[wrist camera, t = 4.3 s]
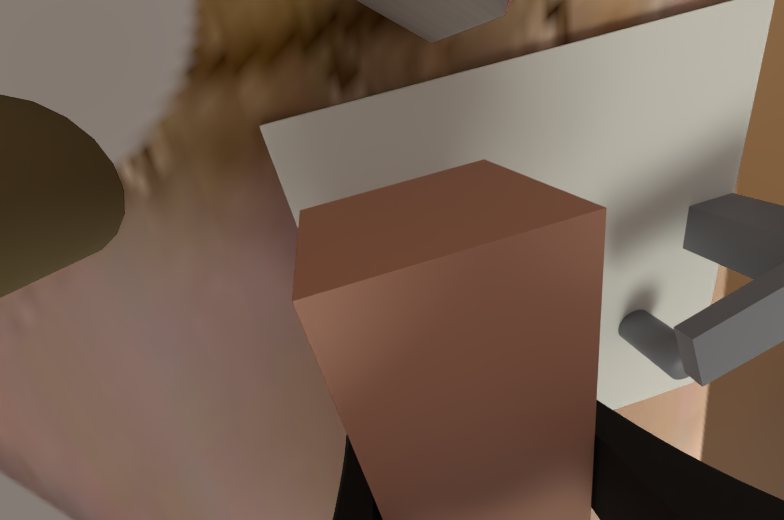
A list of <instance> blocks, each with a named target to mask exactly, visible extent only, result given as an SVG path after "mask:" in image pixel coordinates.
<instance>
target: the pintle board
mask: <svg viewBox="0 0 784 520" xmlns="http://www.w3.org/2000/svg"><path fill="white" fill-rule="evenodd" d="M774 1H775V0H730V1H726V2H722V3H719V4H715V5H711V6H707V7H704V8H700V9H696V10H692V11H689V12H685V13H681V14H677V15H673V16H670V17H666V18H662V19H658V20H655V21H651V22H647V23H643V24H640V25H636V26H632V27H628V28H624V29H621V30H617V31H613V32H609V33H606V34H602V35H598V36H594V37H591V38H587V39H583V40H579V41H575V42H572V43H568V44H564V45H560V46H557V47H553V48H549V49H545V50H542V51H538V52H534V53H530V54H526V55H523V56H519V57H515V58H511V59H508V60H504V61H500V62H496V63H493V64H489V65H485V66H481V67H477V68H474V69H470V70H466V71H462V72H459V73H455V74H451V75H447V76H444V77H440V78H436V79H432V80H428V81H425V82H421V83H417V84H413V85H410V86H406V87H402V88H398V89H395V90H391V91H387V92H383V93H379V94H376V95H372V96H368V97H364V98H361V99H357V100H353V101H349V102H346V103H342V104H338V105H334V106H330V107H327V108H323V109H319V110H315V111H312V112H308V113H304V114H300V115H297V116H293V117H289V118H285V119H281V120H278V121H274V122H270V123H266V124H263V125H260V126H259V127H260V130H261V132H262V135H263V138H264V140H265V143H266V146H267V148H268V151H269V154H270V156H271V159H272V162H273V164H274V167H275V169H276V172H277V175H278V177H279V180H280V183H281V185H282V188H283V191H284V193H285V196H286V198H287V201H288V204H289V206H290V209H291V212H292V214H293V217H294V220H295V222H296V225H297V227H298V226H299V214H300V210H303V209H306V208H310V207H313V206H317V205H321V204H324V203H328V202H332V201H335V200H339V199H342V198H346V197H350V196H353V195H357V194H360V193H364V192H368V191H371V190H375V189H378V188H382V187H386V186H389V185H393V184H397V183H400V182H404V181H407V180H411V179H415V178H418V177H422V176H425V175H429V174H433V173H436V172H440V171H444V170H447V169H451V168H454V167H458V166H462V165H465V164H469V163H472V162H476V161H480V160H483V159H485V160H487V161H490V162H492V163H495V164H497V165H500V166H502V167H505V168H507V169H510V170H513V171H515V172H518V173H520V174H523V175H525V176H528V177H530V178H533V179H535V180H538V181H540V182H543V183H545V184H548V185H550V186H553V187H555V188H558V189H560V190H563V191H565V192H568V193H570V194H573V195H576V196H578V197H581V198H583V199H586V200H588V201H591V202H593V203H596V204H598V205H601V206H603V207H606V208H607V209H606V228H605V247H604V267H603V286H602V305H601V324H600V344H599V363H598V382H597V400H598V401H600V402H601V403H603V404H604V405H606V406H607V407H609V408H611V409H612V410H615V409H617V408H620V407H623V406H626V405H629V404H632V403H635V402H638V401H641V400H644V399H647V398H649V397H652V396H655V395H658V394H661V393H664V392H667V391H670V390H673V389H676V388H679V387H681V386H684V385H687V384H690V383H693V382H694V381H696V382H697V383H699V384H700V385H701V386H704V385H706V384H708V383H710V382H711V381H713V380H715V379H717V378H719V377H720V376H722V375H724V374H726V373H727V372H729V371H731V370H733V369H734V368H736V367H738V366H740V365H741V364H743V363H745V362H747V361H748V360H750V359H752V358H754V357H756V356H757V355H759V354H761V353H762V352H764V351H766V350H768V349H770V348H771V347H773V346H775V345H777V344H778V343H780V342H782V341H784V206H782V205H778V204H774V203H770V202H765V201H762V200H758V199H754V198H750V197H745V196H742V195H738V194H734V191H735V186H736V182H737V177H738V172H739V167H740V163H741V158H742V153H743V149H744V144H745V139H746V134H747V130H748V125H749V120H750V115H751V111H752V106H753V101H754V96H755V92H756V87H757V82H758V77H759V73H760V67H761V63H762V58H763V54H764V49H765V44H766V39H767V35H768V30H769V25H770V20H771V16H772V11H773V6H774ZM719 264H720V265H722V266H724V267H727V268H729V269H731V270H734V271H736V272H738V273H741V274H743V275H745V276H747V277H750V278H752V279H754V280H753V281H751V282H750V283H748V284H746V285H744V286H743V287H741V288H739V289H738V290H736V291H734V292H732V293H731V294H729V295H727V296H726V297H724V298H722V299H720V300H719V301H717V302H715V303H714V304H712V305H711V300H712V296H713V291H714V286H715V281H716V277H717V272H718V267H719Z"/></svg>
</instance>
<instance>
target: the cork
mask: <svg viewBox="0 0 784 520" xmlns="http://www.w3.org/2000/svg"><path fill="white" fill-rule="evenodd" d="M124 214H125V212H124V189H123V187H122V184H121V182H120V179H119V177H118V174H117V172H116V169H115V167H114V164H113V163H112V162H111V160H110V159H109V158H108V157H107V155H106V154H105V153H104V151H103V150H102V149H101V148H100V146H99V145H98V144H97V142H96V141H95V140H94V139H93V138H92V137H91V136H89V135H88V134H87V133H86V132H84V131H83V130H82V129H80V128H79V127H78V126H77V125H75V124H74V123H73V122H72V121H70V120H69V119H68V118H67V117H65V116H62V115H60V114H58V113H56V112H54V111H52V110H50V109H48V108H46V107H44V106H41V105H39V104H37V103H35V102H33V101H28V100H24V99H19V98H14V97H9V96H4V95H0V297H3V296H5V295H7V294H9V293H11V292H13V291H15V290H17V289H20V288H22V287H24V286H26V285H28V284H30V283H32V282H34V281H36V280H39V279H41V278H43V277H45V276H47V275H49V274H51V273H53V272H55V271H58V270H60V269H62V268H64V267H66V266H68V265H70V264H72V263H75V262H77V261H79V260H81V259H83V258H85V257H87V256H89V255H91V254H94V253H96V252H98V251H100V250H102V249H103V248H104V247H105V246H106V245H107V244H108V243H109V242H110V241H111V240H112V238H113V237H114V236H115V235H116V234H117V232H118V230H119V227H120V224H121V222H122V219H123V216H124Z"/></svg>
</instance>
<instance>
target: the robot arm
mask: <svg viewBox="0 0 784 520" xmlns="http://www.w3.org/2000/svg"><path fill="white" fill-rule="evenodd" d="M591 507H592V509H593V510H594V512H595V513H596V514H597V516H598V517H599V519H600V520H784V500H781V499H779V498H777V497H775V496H773V495H770V494H768V493H766V492H763V491H761V490H759V489H757V488H755V487H753V486H750V485H748V484H746V483H744V482H741V481H739V480H737V479H735V478H733V477H731V476H729V475H727V474H725V473H723V472H721V471H719V470H717V469H715V468H713V467H711V466H709V465H707V464H705V463H703V462H701V461H699V460H697V459H696V458H694V457H692V456H690V455H688V454H686V453H684V452H682V451H680V450H679V449H677V448H675V447H673V446H671V445H670V444H668V443H666V442H664V441H663V440H661V439H659V438H657V437H656V436H654V435H652V434H651V433H649V432H647V431H646V430H644V429H642V428H641V427H639V426H637V425H636V424H634V423H632V422H631V421H629V420H628V419H626V418H624V417H623V416H621V415H620V414H618V413H617V412H615V411H614V410H612V409H611V408H609V407H607V406H606V405H604V404H603V403H601V402H600V401H598V400H597V401H596V421H595V440H594V459H593V478H592V498H591ZM333 520H383V519H382V516H381V514H380V512H379V509H378V507H377V504H376V502H375V500H374V497H373V495H372V492H371V490H370V488H369V485H368V483H367V480H366V478H365V475H364V473H363V471H362V468H361V466H360V463H359V461H358V459H357V456H356V454H355V451H354V449H353V447H352V444H351V442H350V439H349V437H348V435H346V447H345V456H344V463H343V470H342V476H341V482H340V487H339V492H338V497H337V502H336V507H335V512H334V516H333Z"/></svg>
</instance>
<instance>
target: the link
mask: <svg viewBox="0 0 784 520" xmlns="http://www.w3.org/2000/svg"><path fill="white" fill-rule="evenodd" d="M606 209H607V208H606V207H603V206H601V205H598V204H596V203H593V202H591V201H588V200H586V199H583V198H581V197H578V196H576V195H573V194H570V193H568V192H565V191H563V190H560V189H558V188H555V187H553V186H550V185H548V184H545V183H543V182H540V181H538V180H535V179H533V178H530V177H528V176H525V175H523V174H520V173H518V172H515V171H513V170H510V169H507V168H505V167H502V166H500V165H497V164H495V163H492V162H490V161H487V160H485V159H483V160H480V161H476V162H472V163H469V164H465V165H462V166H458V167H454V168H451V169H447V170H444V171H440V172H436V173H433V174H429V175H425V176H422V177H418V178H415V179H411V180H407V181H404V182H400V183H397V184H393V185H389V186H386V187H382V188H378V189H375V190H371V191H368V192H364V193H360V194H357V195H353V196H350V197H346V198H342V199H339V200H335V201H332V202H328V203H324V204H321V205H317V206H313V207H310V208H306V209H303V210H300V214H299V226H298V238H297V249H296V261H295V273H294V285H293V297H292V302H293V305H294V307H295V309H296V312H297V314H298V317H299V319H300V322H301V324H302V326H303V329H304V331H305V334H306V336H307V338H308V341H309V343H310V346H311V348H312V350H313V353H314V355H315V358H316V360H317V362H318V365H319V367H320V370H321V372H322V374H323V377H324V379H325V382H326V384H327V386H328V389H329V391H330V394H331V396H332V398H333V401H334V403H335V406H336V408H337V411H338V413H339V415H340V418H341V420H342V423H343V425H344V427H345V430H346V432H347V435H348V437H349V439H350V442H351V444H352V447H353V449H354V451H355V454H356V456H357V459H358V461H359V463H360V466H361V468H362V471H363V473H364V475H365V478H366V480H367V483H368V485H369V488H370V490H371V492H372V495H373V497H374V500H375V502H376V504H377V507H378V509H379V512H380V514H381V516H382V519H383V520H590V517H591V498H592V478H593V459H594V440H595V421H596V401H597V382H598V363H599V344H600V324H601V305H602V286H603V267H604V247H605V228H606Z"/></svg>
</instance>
